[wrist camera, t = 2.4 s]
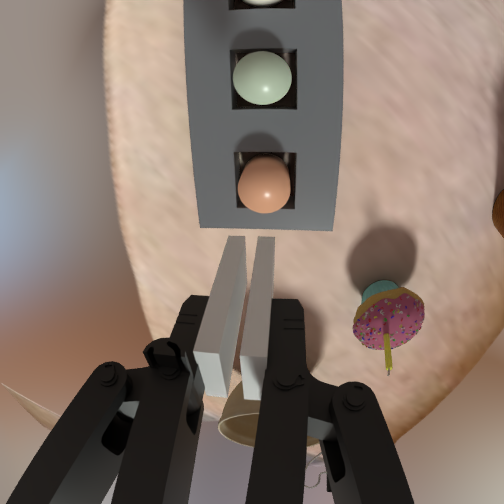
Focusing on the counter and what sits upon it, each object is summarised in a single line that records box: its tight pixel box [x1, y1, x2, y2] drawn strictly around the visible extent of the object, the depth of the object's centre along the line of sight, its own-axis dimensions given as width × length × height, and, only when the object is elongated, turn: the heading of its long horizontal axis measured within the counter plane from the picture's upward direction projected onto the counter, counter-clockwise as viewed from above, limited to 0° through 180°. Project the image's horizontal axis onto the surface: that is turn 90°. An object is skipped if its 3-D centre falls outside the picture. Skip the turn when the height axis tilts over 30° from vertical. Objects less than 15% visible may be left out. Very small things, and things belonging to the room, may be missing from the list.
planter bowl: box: [218, 381, 319, 447], centre depth 39 cm, size 16×16×11 cm
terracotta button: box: [238, 154, 290, 213], centre depth 23 cm, size 4×4×4 cm
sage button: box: [233, 51, 292, 105], centre depth 18 cm, size 4×4×4 cm
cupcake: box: [353, 280, 425, 376], centre depth 27 cm, size 9×8×12 cm
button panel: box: [184, 0, 343, 231], centre depth 20 cm, size 26×12×3 cm, turn 2°
